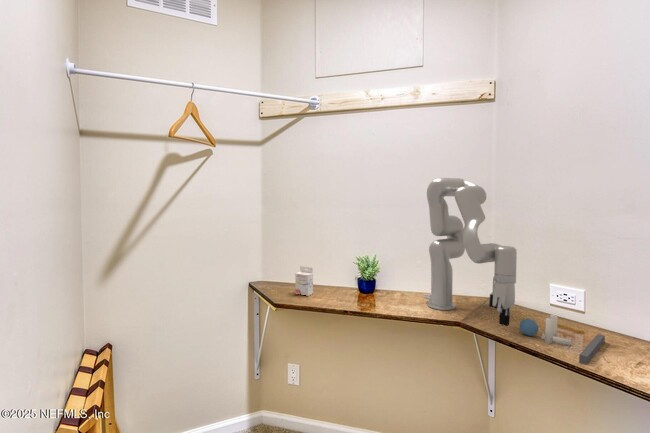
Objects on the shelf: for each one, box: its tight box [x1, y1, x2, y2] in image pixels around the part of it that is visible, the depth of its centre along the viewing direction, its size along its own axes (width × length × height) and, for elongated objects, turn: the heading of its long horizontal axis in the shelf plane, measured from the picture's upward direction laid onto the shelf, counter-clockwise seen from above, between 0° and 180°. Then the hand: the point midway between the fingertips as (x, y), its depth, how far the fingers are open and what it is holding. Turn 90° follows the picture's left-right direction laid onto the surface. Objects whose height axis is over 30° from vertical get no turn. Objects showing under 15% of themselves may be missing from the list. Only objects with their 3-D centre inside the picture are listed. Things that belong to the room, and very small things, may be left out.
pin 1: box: [544, 317, 554, 345], centre depth 122 cm, size 2×2×8 cm
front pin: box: [541, 333, 572, 347], centre depth 123 cm, size 2×2×8 cm
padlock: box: [488, 276, 498, 309], centre depth 162 cm, size 7×4×15 cm, turn 53°
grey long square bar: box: [578, 333, 606, 365], centre depth 115 cm, size 2×24×2 cm, turn 131°
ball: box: [519, 318, 539, 337], centre depth 129 cm, size 6×6×6 cm
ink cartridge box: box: [294, 266, 314, 295], centre depth 186 cm, size 9×5×15 cm, turn 58°
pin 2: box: [549, 314, 559, 337], centre depth 126 cm, size 2×2×8 cm
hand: (504, 324), depth 136 cm, fingers closed
